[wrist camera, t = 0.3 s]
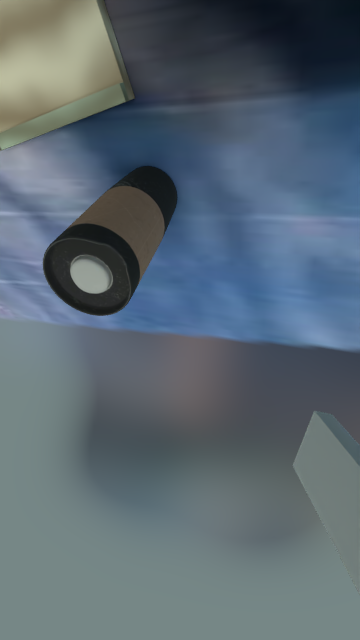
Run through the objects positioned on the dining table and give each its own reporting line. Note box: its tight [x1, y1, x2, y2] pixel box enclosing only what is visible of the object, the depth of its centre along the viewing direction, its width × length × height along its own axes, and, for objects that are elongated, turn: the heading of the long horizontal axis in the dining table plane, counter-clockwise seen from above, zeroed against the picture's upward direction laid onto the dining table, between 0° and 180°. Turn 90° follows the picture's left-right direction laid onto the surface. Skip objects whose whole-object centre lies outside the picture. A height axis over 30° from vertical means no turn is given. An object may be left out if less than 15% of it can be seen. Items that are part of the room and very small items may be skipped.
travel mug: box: [43, 166, 177, 316], centre depth 31 cm, size 8×8×20 cm
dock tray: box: [0, 0, 135, 151], centre depth 29 cm, size 18×18×3 cm
